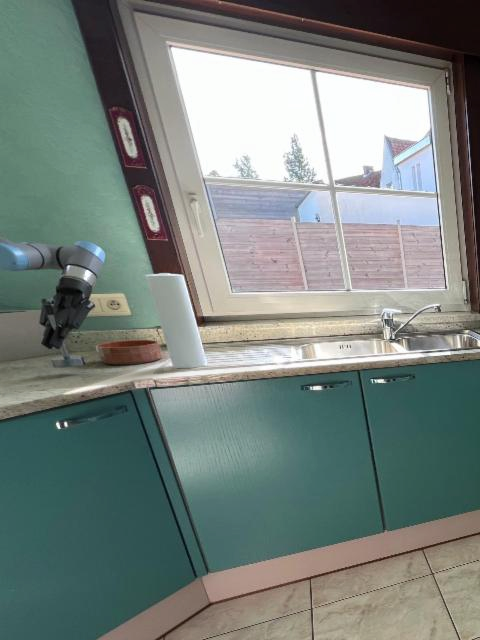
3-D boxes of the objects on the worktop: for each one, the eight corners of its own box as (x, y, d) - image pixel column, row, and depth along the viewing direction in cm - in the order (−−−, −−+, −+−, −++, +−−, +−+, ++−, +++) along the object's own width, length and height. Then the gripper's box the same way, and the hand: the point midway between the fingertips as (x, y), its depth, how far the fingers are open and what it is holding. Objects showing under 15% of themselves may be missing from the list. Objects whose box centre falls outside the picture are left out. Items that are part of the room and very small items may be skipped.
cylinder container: (208, 361, 175) (184, 272, 164) (206, 366, 168) (181, 274, 157) (174, 363, 170) (147, 272, 159) (171, 369, 163) (142, 273, 152)
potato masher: (50, 368, 148) (26, 305, 141) (56, 364, 153) (33, 303, 147) (82, 366, 152) (60, 305, 145) (87, 362, 157) (66, 302, 150)
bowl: (97, 367, 163) (90, 349, 160) (107, 358, 175) (101, 341, 173) (160, 362, 171) (155, 345, 169) (165, 354, 183) (161, 338, 181)
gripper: (111, 293, 160) (88, 353, 151) (60, 292, 158) (33, 353, 149) (92, 276, 153) (67, 339, 144) (39, 275, 151) (10, 338, 142)
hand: (50, 346), depth 147 cm, fingers closed on potato masher
